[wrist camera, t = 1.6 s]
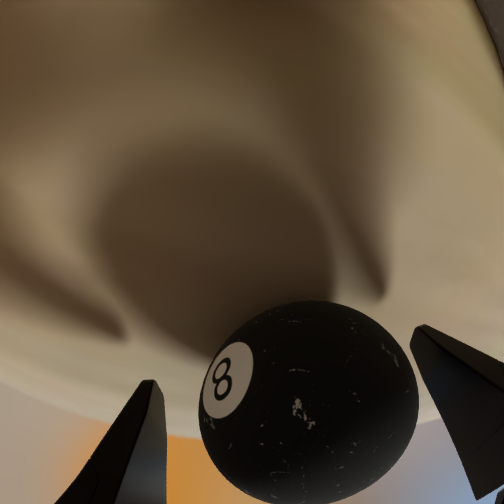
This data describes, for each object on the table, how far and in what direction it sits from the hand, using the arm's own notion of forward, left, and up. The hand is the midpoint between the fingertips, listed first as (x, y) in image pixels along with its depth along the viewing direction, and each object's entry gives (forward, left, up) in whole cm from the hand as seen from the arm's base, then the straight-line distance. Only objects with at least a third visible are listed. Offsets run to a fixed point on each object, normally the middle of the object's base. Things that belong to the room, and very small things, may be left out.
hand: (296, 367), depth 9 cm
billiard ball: (0, 0, -2) cm, 2 cm away
